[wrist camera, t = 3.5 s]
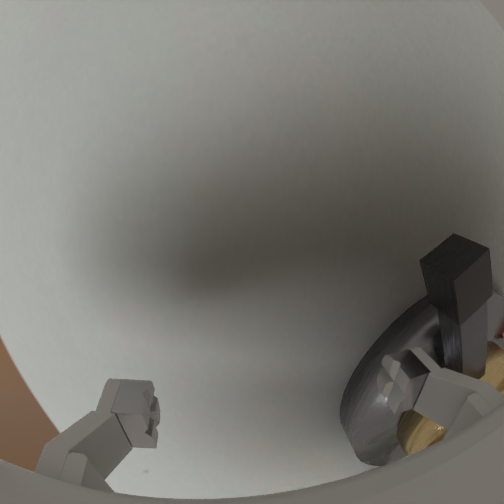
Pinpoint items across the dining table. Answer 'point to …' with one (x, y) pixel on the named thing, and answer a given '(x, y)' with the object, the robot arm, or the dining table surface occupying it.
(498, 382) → the lever handle valve
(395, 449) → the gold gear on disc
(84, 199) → the dining table surface
